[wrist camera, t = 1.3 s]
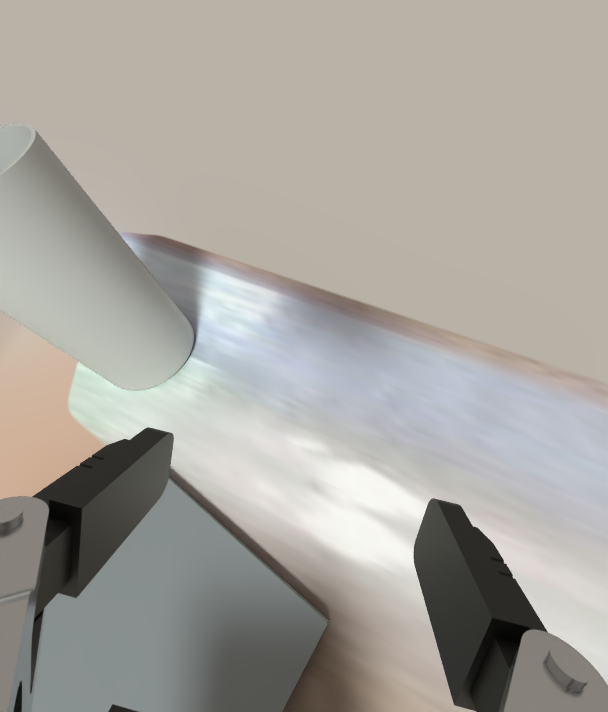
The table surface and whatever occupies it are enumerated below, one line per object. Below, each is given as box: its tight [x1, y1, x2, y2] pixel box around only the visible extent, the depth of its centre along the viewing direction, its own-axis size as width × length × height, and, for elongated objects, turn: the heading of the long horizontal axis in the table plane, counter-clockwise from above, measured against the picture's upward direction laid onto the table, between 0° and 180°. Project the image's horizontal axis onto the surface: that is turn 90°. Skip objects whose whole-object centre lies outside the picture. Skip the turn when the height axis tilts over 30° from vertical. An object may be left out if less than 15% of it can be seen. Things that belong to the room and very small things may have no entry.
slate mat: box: [32, 477, 329, 712], centre depth 27 cm, size 24×24×1 cm
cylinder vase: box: [0, 123, 194, 391], centre depth 34 cm, size 12×12×25 cm
